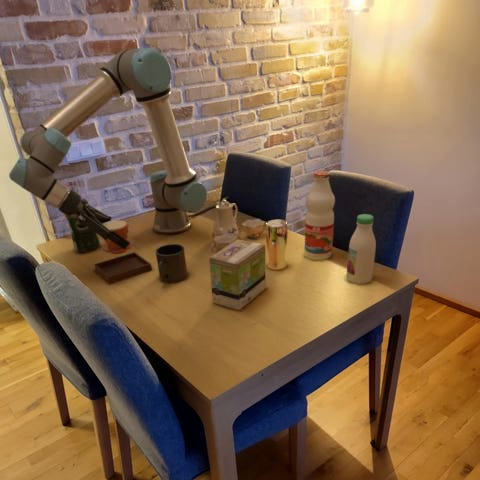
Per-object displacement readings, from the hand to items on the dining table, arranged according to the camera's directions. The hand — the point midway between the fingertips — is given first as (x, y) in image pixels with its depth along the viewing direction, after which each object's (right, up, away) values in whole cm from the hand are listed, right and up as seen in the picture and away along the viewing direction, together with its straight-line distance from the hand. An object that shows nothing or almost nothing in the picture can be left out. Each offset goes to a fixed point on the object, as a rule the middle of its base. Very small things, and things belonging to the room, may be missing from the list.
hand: (126, 239), depth 144 cm
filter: (-3, -3, +1) cm, 5 cm away
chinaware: (+35, +3, +21) cm, 41 cm away
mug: (+15, -13, -2) cm, 20 cm away
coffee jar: (-21, +1, +24) cm, 32 cm away
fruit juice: (+65, -4, +7) cm, 65 cm away
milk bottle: (+75, -14, -9) cm, 77 cm away
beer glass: (+50, -9, +1) cm, 51 cm away
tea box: (+38, -19, -14) cm, 45 cm away
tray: (-2, -9, +5) cm, 11 cm away
